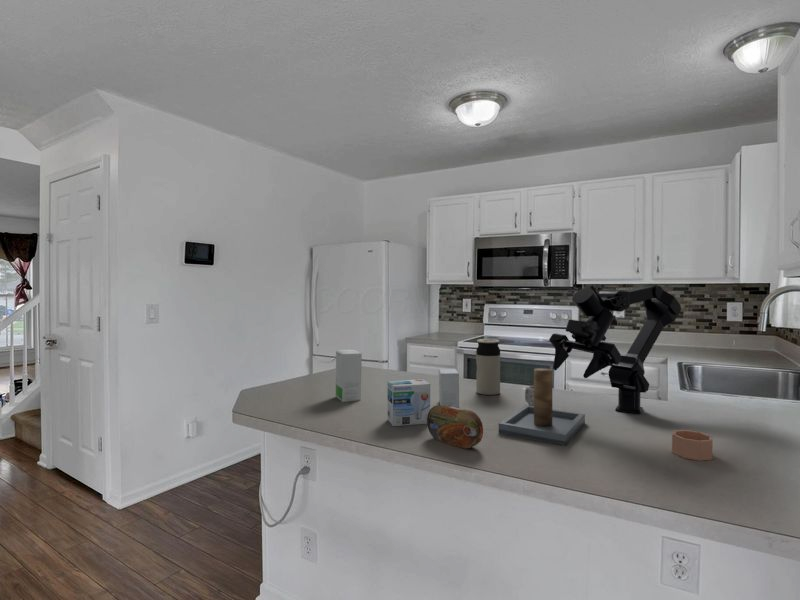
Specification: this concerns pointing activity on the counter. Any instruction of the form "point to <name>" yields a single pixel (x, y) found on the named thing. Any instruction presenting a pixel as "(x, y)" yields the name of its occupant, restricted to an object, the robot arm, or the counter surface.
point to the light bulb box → (408, 402)
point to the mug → (529, 395)
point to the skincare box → (348, 375)
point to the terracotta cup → (692, 445)
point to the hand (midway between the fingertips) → (568, 373)
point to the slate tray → (558, 433)
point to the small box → (449, 387)
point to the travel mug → (488, 367)
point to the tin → (455, 426)
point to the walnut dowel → (543, 397)
